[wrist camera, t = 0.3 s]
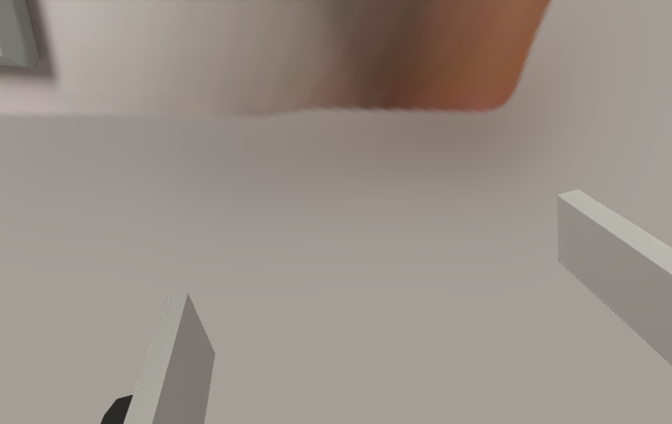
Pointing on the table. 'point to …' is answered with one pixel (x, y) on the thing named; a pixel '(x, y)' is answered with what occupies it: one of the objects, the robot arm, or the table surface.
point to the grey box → (17, 35)
